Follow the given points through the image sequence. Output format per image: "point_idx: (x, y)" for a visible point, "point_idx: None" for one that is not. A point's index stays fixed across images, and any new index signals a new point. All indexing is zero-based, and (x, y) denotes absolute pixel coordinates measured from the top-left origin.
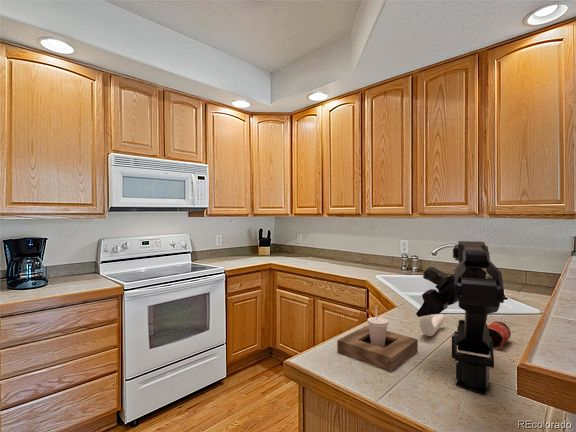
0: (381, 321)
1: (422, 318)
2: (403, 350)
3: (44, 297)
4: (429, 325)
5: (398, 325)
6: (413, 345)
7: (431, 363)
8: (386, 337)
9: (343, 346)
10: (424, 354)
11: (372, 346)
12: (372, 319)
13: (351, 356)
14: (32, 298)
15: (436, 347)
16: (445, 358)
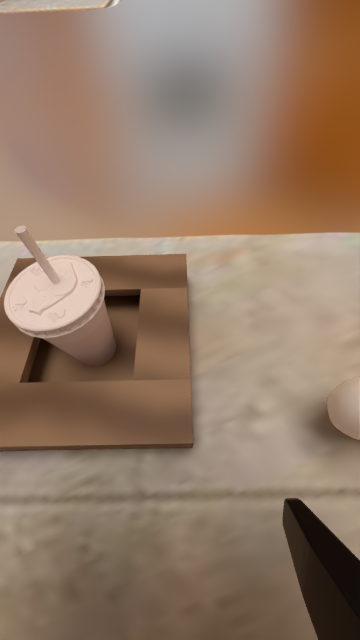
0: (33, 308)
1: (342, 401)
2: (47, 446)
3: (16, 11)
4: (356, 438)
5: (354, 295)
6: (149, 445)
7: (124, 543)
8: (137, 339)
9: None
10: (188, 480)
11: (14, 348)
12: (42, 272)
13: None
14: (7, 10)
15: (293, 492)
16: (214, 580)
